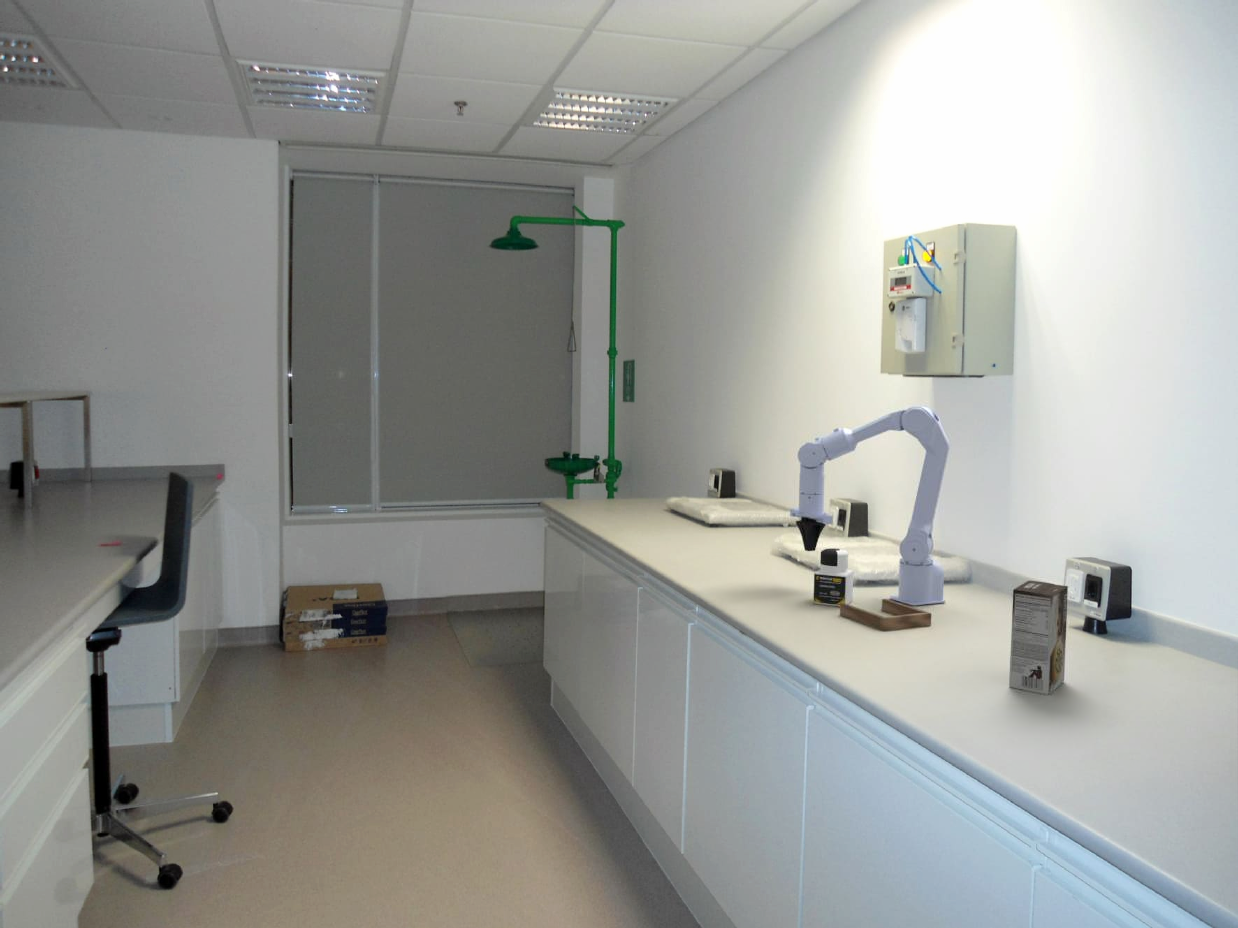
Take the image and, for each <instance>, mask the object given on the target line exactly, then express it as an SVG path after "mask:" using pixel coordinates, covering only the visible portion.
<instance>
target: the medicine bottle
mask: <svg viewBox="0 0 1238 928" xmlns="http://www.w3.org/2000/svg"><path fill="white" fill-rule="evenodd" d="M819 558H820V564H819V566H820V569H818V570H816V571H815V572H814V574H813V575H814V576H813V604H814V603H815V604H816V605H823V606H832V607H840V603H845V604H848V605H850V603H851V602H853V597H854V596H853V595H854V594H853V593H854V570H852V569H848V568H849V552H848V551H847V550H845V549H842V548H834V547H833V548H825V549H823V550H821V551H820V557H819Z"/></svg>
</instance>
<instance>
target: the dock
mask: <svg viewBox="0 0 1238 928" xmlns="http://www.w3.org/2000/svg"><path fill="white" fill-rule="evenodd" d="M882 610H883V611H882ZM881 611H882V612H884V611H885V613H887V614H890V613H891V616H882V615H879V614H877V613H874V612H872V611H868V610H866V609H862V608H860V607H856V606H854V605H851V604H845V603H840V606H839V616H841V617H843V618H846V619H850V620H853V621H854V622H858V623H861V624H863V625H866V626H869V627H872V628H874V629H877V630H880V631H882V632H886V631H893V630H894V631H895V630H902V629H904V630H905V629H912V628H921V627H928V626H932V612H928V611H925V610H923V609H920V608H916V607H914V606H911V605H910V606H909V605H908V604H905V603H901V602H898V601H897V602H896V601H895V600H892V599H887V598H882V599H881ZM896 615H897V616H896Z"/></svg>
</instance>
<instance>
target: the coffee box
mask: <svg viewBox="0 0 1238 928" xmlns="http://www.w3.org/2000/svg"><path fill="white" fill-rule="evenodd" d="M1068 588H1069V586H1068V585H1062V584H1055V583H1051V582H1045V581H1037V580H1027V581H1025V582H1023V583H1022V584H1020V585H1018V586H1017V587H1015V588H1013V590H1012V608H1011V609H1012V614H1011V632H1010V633H1011V635H1010V636H1011V637H1010V638H1011V639H1010V657H1009V683H1008V686H1009V688H1013V689H1018V690H1021V691H1027V692H1033V693H1037V694H1042V695H1047V696H1048V695H1051V694H1052V693H1053V692H1054V691H1055V690H1056V689H1057V688H1058V687H1059V686H1061V684H1063V682H1065V671H1066V670H1065V669H1066V666H1065V664H1066V642H1067V621H1068V620H1067V618H1068V617H1067V615H1068V596H1069V595H1068Z"/></svg>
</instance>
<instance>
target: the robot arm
mask: <svg viewBox="0 0 1238 928" xmlns="http://www.w3.org/2000/svg"><path fill="white" fill-rule="evenodd" d="M889 431H895V432H902V431H905V432H906V433H908V434H909V435H911V436H912V437H913V438H915V439H917V441H918V442H919V444H921V446H922V448H923V449H924V450H925V456H924V460H923V463H922V464H923V465H922V469H921V474H920V478H919V482H918V487H917V491H916V498H915V501H914V505H913V511H912V515H911V520H910V521H909V522H910V523H909V526H908V527H907V533H906V535H905V537H904V538H903V540H901V542H900V543H899V554H900V555H901V558H899V567H898V568H899V569H898V571H899V573H898V595H892V596H889V600H892V601H897V602H899V603H902V604H905V605H908V606H909V605H910V606H912V607H914V606H915V607H916V606H923V605H924V606H925V605H932V604H940V603H941V604H943V603H946V599H944V587H945V586H944V581H945V573H944V570H943V567H942V565H941V564H940V563H939V562H937V561H934V560H933V559H932V557H931V556H930V554H931V553H932V551H933V550H934V540H933V537H932V535H933V534H932V532H933V528H934V527H933V526H934V519H935V516H936V515H935V514H936V511H937V506H938V502H939V497H940V492H941V487H942V483H943V478H944V475H945V469H946V467H947V461H948V455H949V453H950V452H949V451H950V446H951V445H950V441H949V439H948V437H947V434H946V432H945V429H944V427H943V425H942V422H941V419H940V417H939V416H938V415H937V414H936V413H935V412H934V411H933V410H932V408H930V407H928V406H925V405H916V406H910V407H908V408H907V409H901V410H897V411H894V412H890V413H887V414H884V415H883V416H881V417H879V418H877V419H875V420H872V421H870V422H868V423H866V424H863V425H862V426H859V427H857V428H855V429H853V430H851V429H848V428H847V427H843V428H840V427H837V428H834V429H833V432H830V433H829V434H827V435H824V436H822V437H820V436H817V437H815V438H814V440H815V441H813V442H809V441H808V442H805V444H803V445H802V446H801V447H800V448H799V449H798V451H797V459H798V462H799V464H800V465H799V466H800V467H799V484H798V485H799V486H798V487H799V488H798V490H799V491H798V507H796V508H795V507H793V508H789V517H793V518H794V517H795V518H799V519H800V520H795V524H796V526H797V527H798V530H799V533H800V534H801V535H800V536H801V539H802V544H803V547H804V551H806V552H815V551H816V549H817V546H818V542H819V538H820V536H821V534H822V532H823V530H824V528H825V527H826V525H833V524H834V516H833V515H831V514H829V513H826V512H824V506H825V505H824V503H825V502H824V500H825V499H824V498H825V463H826V462H827V461H828V462H830V461H833V460H835V459H837V458H840V457H842V456H844V455H847V454H850V453H851V452H855V451H856V448H857V445H858V443H861V442H863V441H865V440H868V439H870V438H873V437H876V436H879V435H881V434H883V433H886V432H889Z"/></svg>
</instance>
